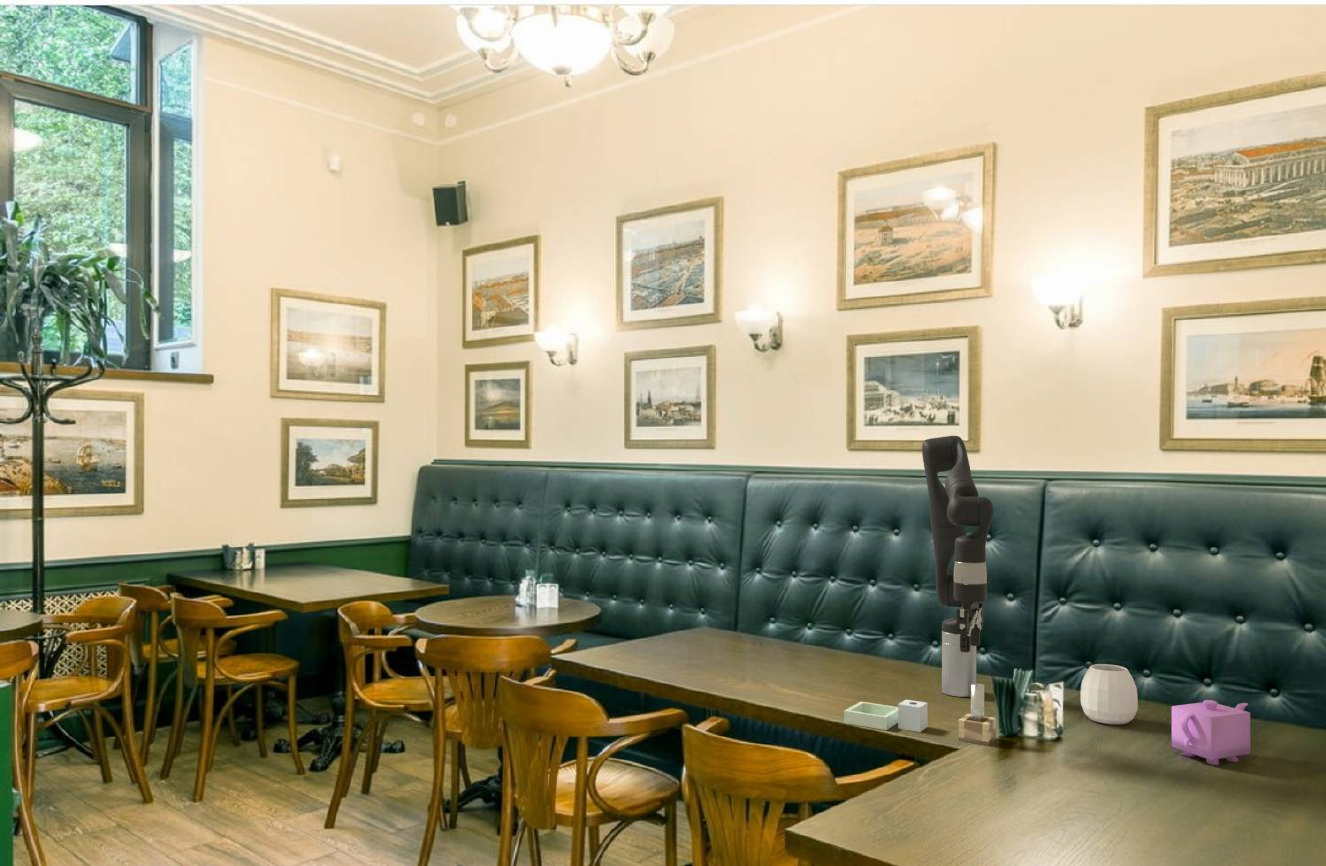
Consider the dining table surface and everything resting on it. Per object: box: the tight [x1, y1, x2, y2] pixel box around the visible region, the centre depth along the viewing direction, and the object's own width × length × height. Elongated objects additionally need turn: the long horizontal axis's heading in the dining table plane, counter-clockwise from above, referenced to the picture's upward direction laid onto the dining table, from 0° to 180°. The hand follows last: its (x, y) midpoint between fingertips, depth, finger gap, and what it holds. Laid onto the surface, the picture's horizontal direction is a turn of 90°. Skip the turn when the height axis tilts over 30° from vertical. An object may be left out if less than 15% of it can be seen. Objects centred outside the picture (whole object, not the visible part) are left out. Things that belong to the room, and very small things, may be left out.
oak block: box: [958, 713, 997, 746], centre depth 235 cm, size 7×7×5 cm
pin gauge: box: [970, 682, 985, 722], centre depth 235 cm, size 3×3×12 cm
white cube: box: [897, 699, 929, 733], centre depth 244 cm, size 6×6×6 cm
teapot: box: [1171, 699, 1251, 766], centre depth 223 cm, size 20×10×12 cm, turn 112°
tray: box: [843, 701, 898, 731], centre depth 249 cm, size 11×11×3 cm
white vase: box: [1080, 663, 1139, 725], centre depth 251 cm, size 13×13×14 cm
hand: (970, 648), depth 237 cm, fingers open, 8 cm apart
